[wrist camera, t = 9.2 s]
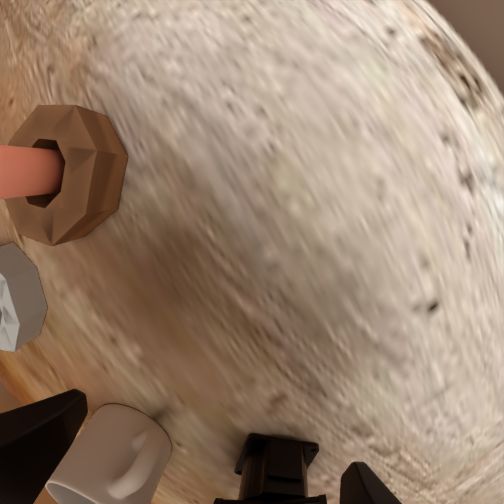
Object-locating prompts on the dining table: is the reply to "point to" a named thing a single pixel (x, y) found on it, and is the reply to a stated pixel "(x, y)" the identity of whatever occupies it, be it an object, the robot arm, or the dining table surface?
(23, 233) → the walnut bead
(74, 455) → the mug
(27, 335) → the slate bead
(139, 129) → the dining table surface
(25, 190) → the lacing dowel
